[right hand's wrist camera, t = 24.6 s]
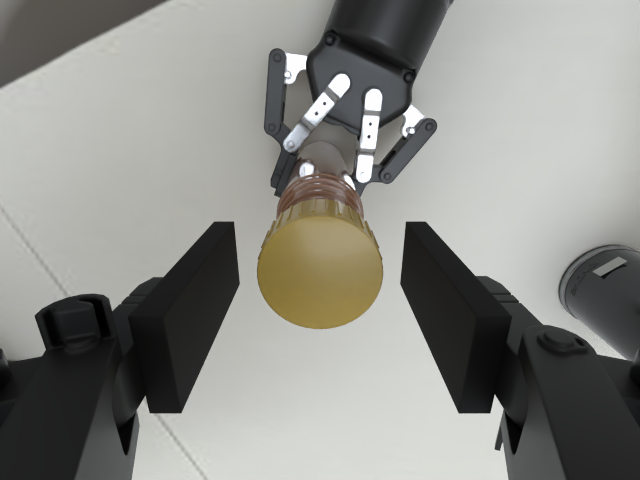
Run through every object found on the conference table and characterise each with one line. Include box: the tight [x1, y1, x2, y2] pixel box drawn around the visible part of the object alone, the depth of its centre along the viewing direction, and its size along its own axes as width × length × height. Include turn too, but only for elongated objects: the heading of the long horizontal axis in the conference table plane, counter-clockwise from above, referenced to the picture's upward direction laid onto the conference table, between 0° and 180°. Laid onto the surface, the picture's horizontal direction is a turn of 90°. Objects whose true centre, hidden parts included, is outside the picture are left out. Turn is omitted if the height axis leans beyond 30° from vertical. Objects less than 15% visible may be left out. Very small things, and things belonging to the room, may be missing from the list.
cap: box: [257, 198, 383, 329], centre depth 13 cm, size 4×4×2 cm
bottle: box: [276, 141, 364, 220], centre depth 24 cm, size 5×5×24 cm
